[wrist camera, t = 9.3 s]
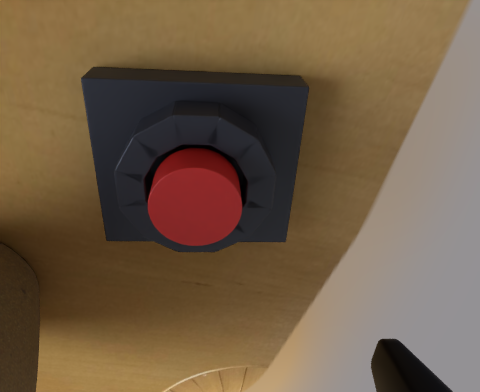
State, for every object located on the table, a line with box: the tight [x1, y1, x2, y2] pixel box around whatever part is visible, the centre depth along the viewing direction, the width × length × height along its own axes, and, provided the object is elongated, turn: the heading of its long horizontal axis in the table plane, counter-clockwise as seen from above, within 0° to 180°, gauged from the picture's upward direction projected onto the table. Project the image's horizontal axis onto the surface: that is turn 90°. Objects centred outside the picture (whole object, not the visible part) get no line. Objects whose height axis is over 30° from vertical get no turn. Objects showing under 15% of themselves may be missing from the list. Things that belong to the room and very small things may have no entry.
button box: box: [81, 67, 309, 252], centre depth 17 cm, size 9×8×4 cm
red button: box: [148, 148, 242, 246], centre depth 15 cm, size 4×4×2 cm
